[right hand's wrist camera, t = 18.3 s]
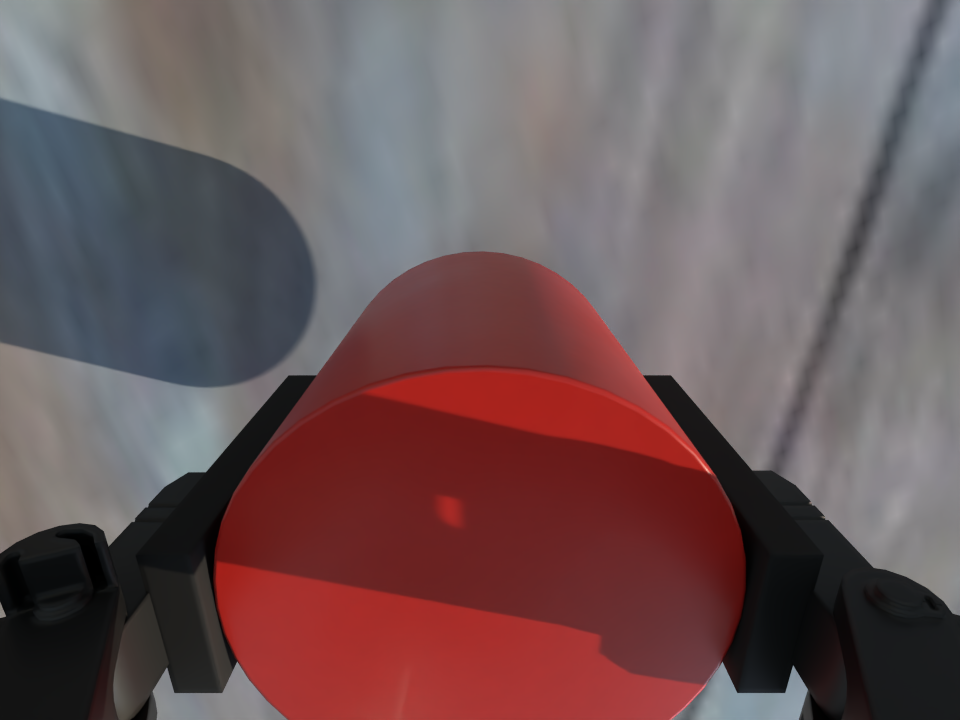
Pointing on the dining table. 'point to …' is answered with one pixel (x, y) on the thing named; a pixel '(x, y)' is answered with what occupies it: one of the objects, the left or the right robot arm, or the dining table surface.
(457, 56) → the dining table surface
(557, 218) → the dining table surface
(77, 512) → the dining table surface
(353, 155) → the dining table surface
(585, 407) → the canister
